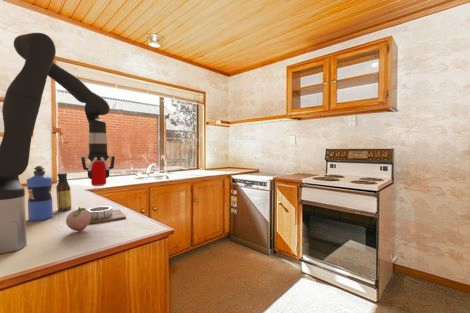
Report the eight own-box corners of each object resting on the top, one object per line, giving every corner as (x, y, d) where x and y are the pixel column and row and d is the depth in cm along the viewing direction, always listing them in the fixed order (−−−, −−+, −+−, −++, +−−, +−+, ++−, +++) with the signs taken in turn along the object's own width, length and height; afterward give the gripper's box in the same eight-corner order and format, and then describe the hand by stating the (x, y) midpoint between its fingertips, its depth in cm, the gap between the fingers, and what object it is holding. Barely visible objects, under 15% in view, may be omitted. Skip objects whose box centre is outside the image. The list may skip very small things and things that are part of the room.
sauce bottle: (74, 208, 132) (73, 172, 132) (65, 211, 126) (64, 174, 125) (63, 208, 133) (62, 172, 132) (53, 211, 127) (52, 173, 126)
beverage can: (89, 187, 110) (88, 161, 109) (93, 185, 116) (93, 160, 115) (104, 186, 111) (103, 160, 111) (107, 184, 117) (107, 160, 117)
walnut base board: (126, 218, 113) (125, 216, 113) (75, 226, 102) (75, 224, 102) (119, 211, 126) (119, 209, 126) (74, 217, 115) (74, 215, 115)
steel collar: (113, 216, 113) (113, 209, 113) (87, 220, 107) (87, 213, 107) (110, 212, 121) (110, 205, 121) (86, 215, 115) (86, 208, 115)
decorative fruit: (70, 229, 99) (69, 205, 98) (93, 227, 102) (92, 203, 101) (63, 237, 90) (62, 211, 90) (88, 234, 93) (87, 209, 93)
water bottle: (31, 222, 107) (29, 167, 106) (25, 219, 113) (23, 166, 112) (56, 217, 115) (54, 165, 114) (49, 214, 120) (48, 165, 119)
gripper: (80, 142, 105) (81, 180, 106) (116, 142, 114) (116, 178, 114) (79, 142, 112) (80, 178, 112) (113, 143, 120) (114, 176, 120)
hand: (98, 178), depth 113 cm, fingers closed on beverage can, 6 cm apart
